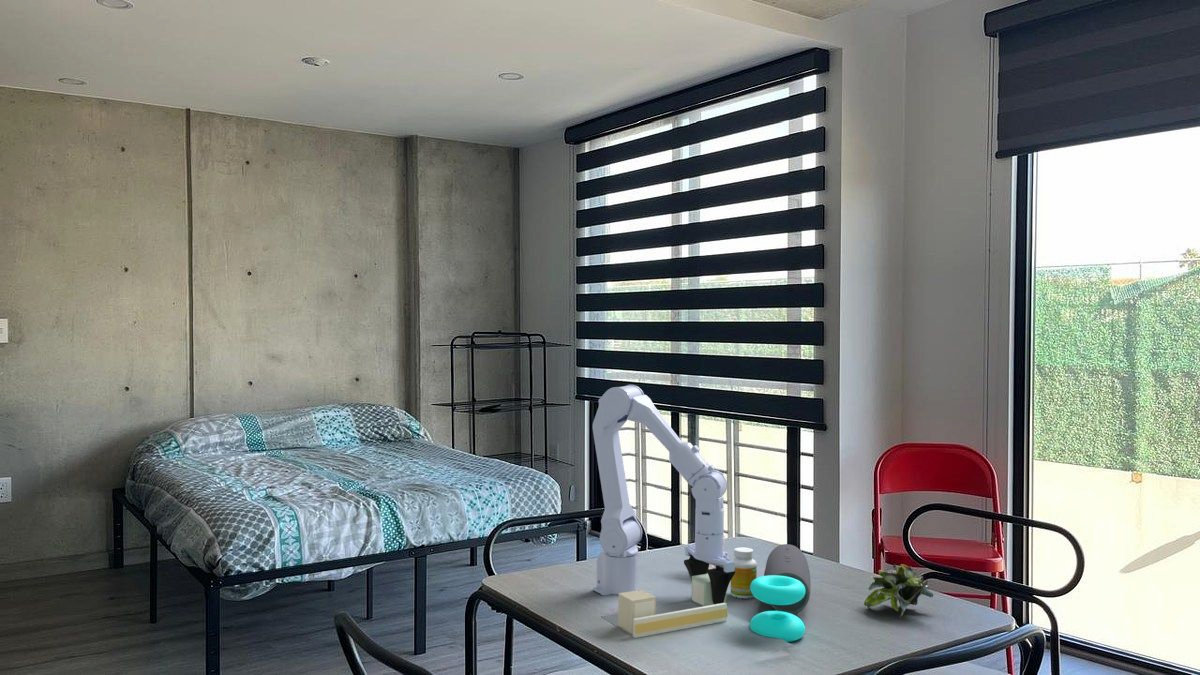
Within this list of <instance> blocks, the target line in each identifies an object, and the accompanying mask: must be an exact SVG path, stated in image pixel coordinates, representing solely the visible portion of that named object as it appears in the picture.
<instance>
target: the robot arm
mask: <svg viewBox="0 0 1200 675" xmlns="http://www.w3.org/2000/svg"><path fill="white" fill-rule="evenodd" d="M644 393H645V392H644V391H643V390H642V389H641V388H640V387H639V386H638V385H635V384H626V385H624V386H615V387H610V388H609V389H607V390H606V391H605V392H604V393H603V395H601V397H600V398H599V399H598V408H597V410H596V413H595V416H594V419H593V422H592V434H593V439H594V445H595V446H594V447H595V453H596V459H597V466H598V472H599V480H600V485H601V492H602V499H603V505H604V511H603V513H602V516H601V520H600V523H601V530H600V534H599V544H600V547H601V548H602V550H601V551H600V552H599V553H598V556H597V559H596V586H593V587H592V591H595V592H596V593H598V594H599V595H601V596H607V595H619V593H624V592H630V591H637V590H638V589H639V549H638V543H640V542H641V540H642V537H643V528H642V525H641V524H640V522H639V520H638V518H637V515H636V511H635V510H634V508H633V507H632V506H631V504H630V497H629V492H628V486H627V480H626V472H625V467H624V460H623V453H622V448H621V447H622V446H621V440H620V435H619V431H620V430H621V429H622V427H623V426H624V425H625V424H626V422H628V421H631V422H635V423H640V424H643V425H644V427H646V428H647V430H648V431H649V432H650V433H651V434H652V435H653V436H654V437H655V438H656V439H657V440H658V441H659V443H660V444H662V446H663V447H664V448H665V449H666V450H667V451H668V453H669V454H668V455H669V456H668V459H669V463H671V464H672V466H673V467H674V468H675V470H676V471H677V472H678V473H679V475H681V477H683V479H684V480H685V482H687V484H688V485H689V486H691V489H690V490H691V491H690V492H691V495H692V497H693V499H695V518H694V519H695V520H694V522H695V528H694V529H695V531H694V533H695V534H694V536H695V537H694V544H692V545H685V547H684V548H685V549H684V550H685V551H684V555H685V556H687V557H688V558H689V559H688V558H687V559H684V560H683V565H684V566H685V568H686V570H687V572H688V574H689V577H690V582H691V583H692V576H696V575H703V574H707V573H708V575H709V578H710V582H711V588H712V600H713V604H720V603H724V599H725V595H726V596H727V590H728V588H729V585H730V584H731V579H732V577H733V576H734V574H735V562H734V561H732V559H730V557H729V556H728V552H727V551H725V550H724V551H723V538H724V533H725V532H724V531H725V530H724V528H725V527H724V526H725V525H724V524H725V523H724V522H725V521H724V516H725V515H724V514H725V513H724V512H725V509H724V497H723V496H724V495H725V494H726V493H727V490H728V482H727V479H726V477H725V476H724V474H723V473H722V472H721V471H720V470H716V469H715V467H714V466H713V464H709V463H708V462H707V461H706V459H705V457H703V455H701V453H700V450H701V448H700V447H699V446H698V445H696V444H695V445H693V443H691V442H690V441H689V442H688V441H687V442H686V441H682V440H681V439H680V437H679V436H678V434H677V433H676V432H675V430H673V428H672V427H671V425H670V424H669V423H668V422H667V420H666V419H665V417H664V416H663V414H661V413H660V411H659V410H658V408H657V407H656V406H655V405H654V403H653V401H652V399H651V397H649V396H648V395H647V394H644ZM710 564H711V565H714V566H716V569H715V568H714V569H708V568H709V565H710Z"/></svg>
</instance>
